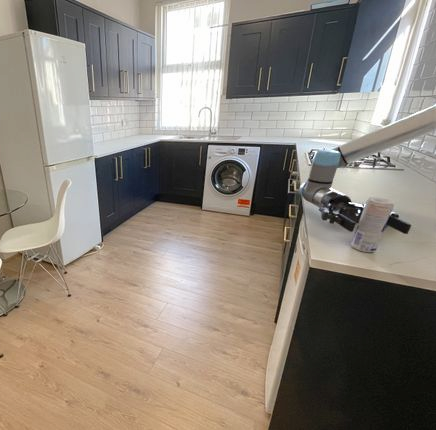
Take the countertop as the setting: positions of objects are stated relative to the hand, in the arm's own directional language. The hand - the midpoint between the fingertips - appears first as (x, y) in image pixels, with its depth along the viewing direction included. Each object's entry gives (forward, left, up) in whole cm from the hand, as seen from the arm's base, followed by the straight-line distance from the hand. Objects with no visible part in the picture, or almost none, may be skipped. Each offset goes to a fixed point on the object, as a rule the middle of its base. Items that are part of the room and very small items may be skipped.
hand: (380, 228), depth 75 cm
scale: (+10, -30, -8) cm, 33 cm away
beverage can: (+2, -2, -8) cm, 9 cm away
